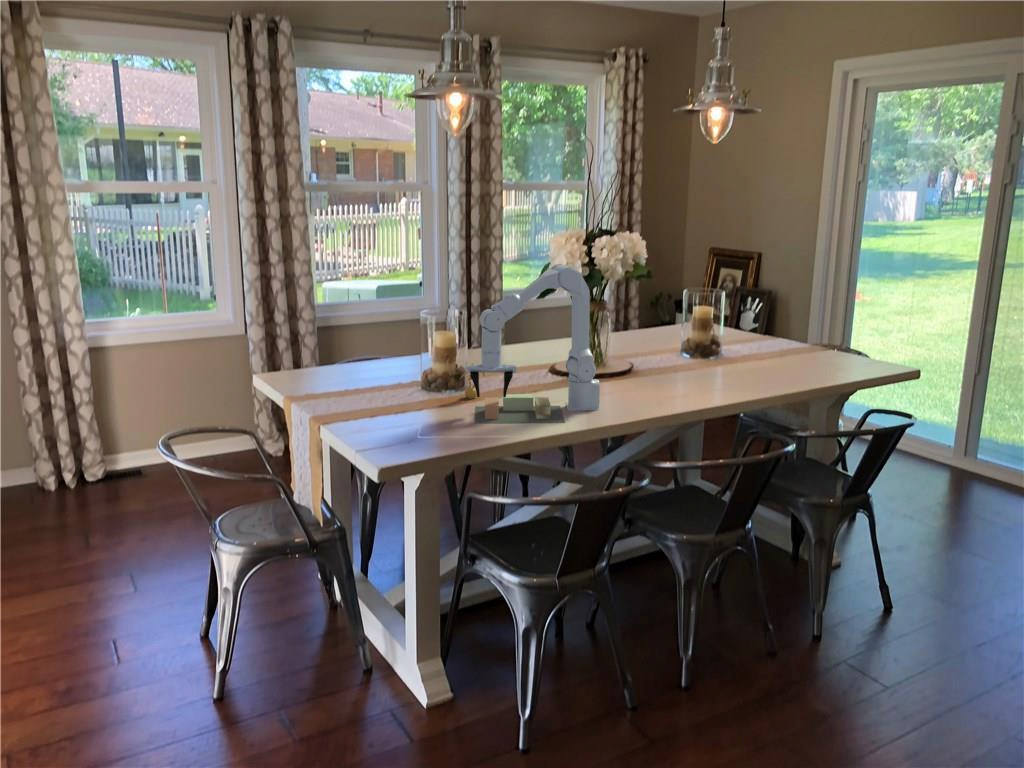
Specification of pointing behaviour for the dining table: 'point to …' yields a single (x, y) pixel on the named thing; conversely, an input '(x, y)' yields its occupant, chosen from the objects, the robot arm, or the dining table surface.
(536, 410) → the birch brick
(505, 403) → the sage brick
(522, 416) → the mat
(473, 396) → the figurine
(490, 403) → the tan rectangular block
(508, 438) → the dining table surface
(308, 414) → the dining table surface
